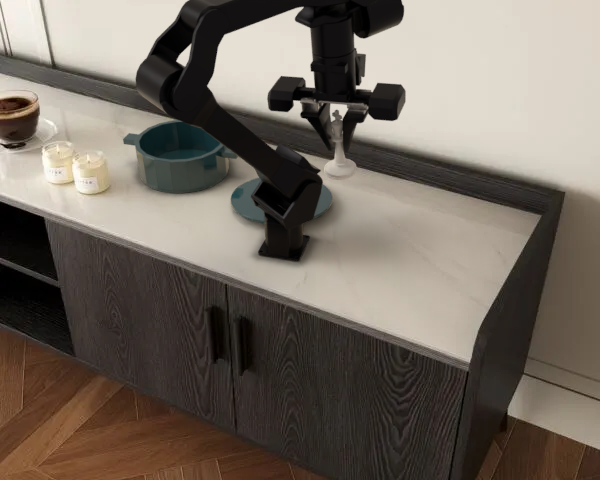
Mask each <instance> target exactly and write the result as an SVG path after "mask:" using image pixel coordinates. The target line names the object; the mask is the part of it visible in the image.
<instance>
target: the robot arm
mask: <svg viewBox="0 0 600 480" xmlns="http://www.w3.org/2000/svg"><path fill="white" fill-rule="evenodd" d="M298 8H301V10H299V11H298V12H297V14H296V15H295V16H294V21H295V23H298V24H299V25H302V26H305V27H307V28H309V30H310V43H311V44H310V45H311V57H312V61H311V62H310V65H309V68H310V72H313V81H314V87H309V86H307V83H306V82H307V81H306V80H305V78H304V77H303V76H287V75H284V76H283V75H280V77H279V78H278V79H277V80H276V81H275V83H274V84H273V85H272V86H271V88H270V90H268V92H267V98H266V100H267V108H268V110H269V111H271V112H278V113H279V112H280V113H289V112H290V111H291V110H292V109H293V108H294V106H295V104H294V103H295V102H294V101H296V102H299V103H300V104H301V112H300V113H299V115H300V116H299V117H300V118H301V119H305V120H306V121H307V122H308V123H309V125H311V127H312V128H313V129H314V130H315V132H316V133H317V135H318V136H319V138H320V139H321V141H322V142H323V144H324V145H325V147H326V149H327V150H328V151H329V152H332V151H333V150H334V142H333V141H332V140H331V137H332V135H334V132H333V129H332V127H331V122H332V118H331V104H332V105H333V104H334V105H342V106H343V105H344V106H346V109H347V110H346V112H345V114H344V116H342V121H343V131H342V134H343V141H342V144H343V150H344V154H345V153H346V154H347V153H348V152H349V150H350V147H351V143H352V141H353V138H354V134H355V131H356V128H357V125H358V124H363V123H365V120H366V119H367V116H368V115H369V116H370V117H371V118H372V119H373V120H375V121H387V122H394V121H398V119H399V117H400V115H401V112H402V111H403V109H404V106H405V104H406V102H407V101H406V99H407V98H406V96H407V95H406V92H407V91H406V88H404V86H403V85H402V84H401V83H388V82H387V83H385V82H377V83H376V85H375V86H374V88H373V91H372V89H366V88H365V89H364V88H357V87H359V86H360V85H361V84H362V82H363V81H362V78H365V76H366V61H367V54H366V53H358V50H357V47H355V36H356V37H357V38H359V39H368V38H370V37H372V36H375V35H378V34H379V33H382V32H385V31H387V30H389V29H392V28H394V27H397V26H399V25H400V24H401V23H402V21H403V19H404V16H405V5H404V4H403V1H402V0H187V1H185V2H184V3H183V5H182V6H181V8H180V10H179V12H178V14H177V15H176V18H175V19H174V21H173V22H172V23H171V24H170V25H168V27H167V28H166V29H165V30H164V31H163V32H162V33H161V34H160V35H159V36H157V38H156V39H155V40H154V42H153V44H152V46H151V48H150V50H149V52H148V54H147V56H146V58H145V59H143V60H142V62H141V63H140V64H139V66H138V68H137V70H136V74H135V89H136V91H137V92H138V94H139V95H140V96H141V97H142V98H144V99H145V100H147V101H148V102H149V103H151V104H152V105H154V106H155V107H157V108H158V109H159V110H161V111H162V112H163V113H165V114H166V115H168V117H171V118H174V120H180V121H182V122H184V123H186V124H188V125H191V126H194V127H198V128H201V129H202V130H204V131H205V132H206V133H208V134H209V135H210V136H212V137H213V138H214V139H216V140H217V141H218V142H220V143H221V144H222V145H224V146H225V147H226V148H228V149H229V150H230V151H232V152H233V153H234V154H236V155H237V156H238V158H240V159H241V160H242V161H243V162H245V163H246V164H247V165H249V166H250V167H251V168H253V169H254V170H255V172H256V174H257V176H258V178H260V179H261V181H260V183H259V184H258V186H257V187H256V189H255V190H254V192H253V193H252V195H251V198H252V200H253V203H254V205H255V206H257V207H259V208H260V209H262V210H263V211H264V221H265V224H264V240H263V242H262V243H261V246H260V247H259V249H258V251H257V254H258V256H261V257H267V258H272V259H273V258H274V259H278V260H279V259H280V260H286V261H292V262H300V261H301V259H302V257H303V255H304V253H305V251H306V248H307V247H308V244H309V243H310V240H311V236H310V235H308V234H304V224H306V223H309V222H312V221H313V220H314V219H313V218H314V214H315V211H316V208H317V204H318V201H319V198H320V195H321V189H322V184H324V180H323V178H322V176H321V175H320V173H321V171H322V170H321V169H320V168H318V166H316V165H314V164H313V163H310V161H308V159H307V158H306V157H305V156H303V155H302V154H300V153H299V152H297V151H295V150H294V149H292V148H290V147H289V146H287V145H286V144H284V143H283V142H281V141H279V142H278V144H277V146H276V148H273V147H271V146H270V145H269V144H267V142H265V141H264V140H263V139H262V138H260V137H259V136H258V135H257V134H255V132H253V131H252V130H250V129H249V128H247V126H245V124H243V123H242V122H240V121H239V120H238V119H237V118H235V116H233V115H232V114H230V113H229V112H228V111H227V110H226V109H224V108H223V107H222V106H221V105H220V104H219V103H218V101H217V99H216V96H215V95H214V92H213V91H212V90H211V89H210V88H209V86H208V85H209V84H210V81H211V80H212V78H213V76H214V73H215V68H216V62H217V55H218V51H219V46H220V44H221V42H222V41H223V38H224V37H225V36H226V35H228V34H232V33H233V32H236V31H239V30H242V29H245V28H247V27H249V26H253V25H255V24H258V23H260V22H263V21H265V20H268V19H271V18H274V17H277V16H279V15H283V14H284V13H287V12H290V11H293V10H295V9H298ZM189 47H190V50H189V56H188V59H187V62H186V63H185V65H183V64H181V63H180V62H178V59H179V57H180V55H182V53H183V52H185V51H186V49H187V48H189Z"/></svg>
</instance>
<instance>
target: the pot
mask: <svg viewBox="0 0 600 480" xmlns="http://www.w3.org/2000/svg"><path fill="white" fill-rule="evenodd" d="M122 142H123V145H127V146H134V148H135V154H136V160H137V166H138V173H139V178H140V180H141V182H142V183H143V184H144V185H146V186H147V187H149V188H151V189H152V190H155V191H158V192H162V193H168V194H189V193H196V192H200V191H203V190H206V189H210V188H212V187H214V186H216V185H217V184H219V183H220V182H222V181H223V180H224V179H225V178H226V177H227V176H228V173H229V168H230V160H229V159H232V160H237V159H238V158H239V157H238V156H237V155H236V154H234V153H233V152H232V151H230V150H229V149H228V148H226V147H225V146H224V145H222V144H221V143H220V142H218V141H217V140H216V139H214V138H213V137H212V136H210V135H209V134H208V133H206V132H205V131H204V130H202V129H201V128H198V127H194V126H191V125H188V124H186V123H184V122H182V121H180V120H177V119H174V120H169V121H164V122H163V121H162V122H159V123H157V124H154V125H151V126H149V127H147V128H146V129H144V130H143V131H142V132H140V133H131V132H129V133H127V135H126V136H124V138H122Z"/></svg>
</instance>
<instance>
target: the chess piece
mask: <svg viewBox="0 0 600 480" xmlns="http://www.w3.org/2000/svg"><path fill="white" fill-rule="evenodd" d="M331 116H332V117H333V118H334V120H331V127H332V132H333V135H332V137H331V140H332V141H333V143H334V158H333V159H331V160H329V161H328V162H327V163H325V165H324V169H323V170H324V171H323V174H324V175H325V176H326V177H327V178H329V179H332V180H337V181H338V180H340V181H341V180H346V179H347V180H348V179H349V178H352V177H354V176H355V175H356V174H357V172H358V167H357V164H356V162H355V161H353V160H351V159H349V158H346V156H345V155H346V154H345V152H344V148H343V115H341V114H340V110H338V109H335V110H334V112H333V111H332V113H331Z"/></svg>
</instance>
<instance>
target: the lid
mask: <svg viewBox="0 0 600 480" xmlns="http://www.w3.org/2000/svg"><path fill="white" fill-rule="evenodd" d="M260 181H261V179H260V178H259V177H256V178H253V179H250V180H248V181H245V182H243V183H241V184H240V185H238V186H237V187H236V188H235V189H234V190H233V192H232V193H231V196H230V205H231V208H232V209H233V211H234V212H235V213H236V214H237V215H239V216H240V217H242V218H244V219H246V220H248V221H251V222H254V223H258V224H263V225H265V221H264V211H263V210H262V209H260V208H259V207H257V206H255V205H254V203H253V200H252V198H251V195H252V193H253V192H254V190H255V189H256V187H257V186H258V184H259V183H260ZM332 203H333V194H332V191H331V190H330V188H328V187H327V186H326V185H325V184H324V183H323V184H322V189H321V195H320V198H319V201H318V204H317V208H316V211H315V214H314V218H313V220H314V219H317V218H319V217H321V216H323V215H324V214H325V213H326V212H328V211H329V209H330V208H331V206H332V205H333V204H332Z"/></svg>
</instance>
